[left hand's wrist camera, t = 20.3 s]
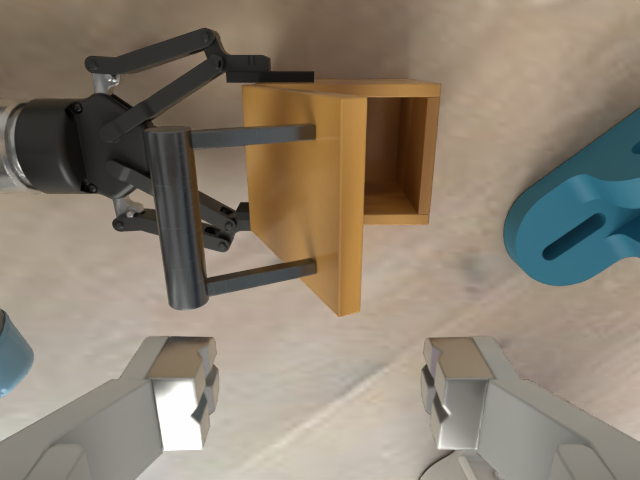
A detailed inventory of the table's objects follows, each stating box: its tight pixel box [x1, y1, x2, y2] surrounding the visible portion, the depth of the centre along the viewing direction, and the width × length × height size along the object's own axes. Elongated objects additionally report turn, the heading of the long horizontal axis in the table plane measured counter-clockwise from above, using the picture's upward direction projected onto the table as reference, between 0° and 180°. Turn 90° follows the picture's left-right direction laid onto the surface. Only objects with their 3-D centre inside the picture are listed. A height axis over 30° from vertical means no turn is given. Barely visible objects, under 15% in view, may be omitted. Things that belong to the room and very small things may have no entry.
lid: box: [144, 85, 367, 317], centre depth 24 cm, size 14×10×8 cm
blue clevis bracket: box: [504, 108, 640, 286], centre depth 40 cm, size 18×10×10 cm, turn 130°
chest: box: [252, 79, 441, 225], centre depth 37 cm, size 13×10×11 cm
